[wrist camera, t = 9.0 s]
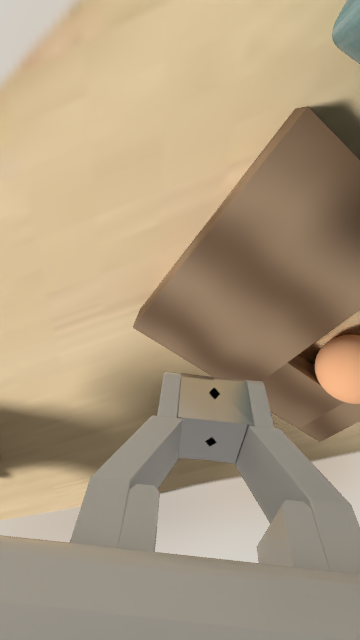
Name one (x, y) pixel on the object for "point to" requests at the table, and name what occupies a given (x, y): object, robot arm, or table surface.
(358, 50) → the flower pot
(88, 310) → the table surface
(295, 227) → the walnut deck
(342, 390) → the rubber ball
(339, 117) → the table surface
